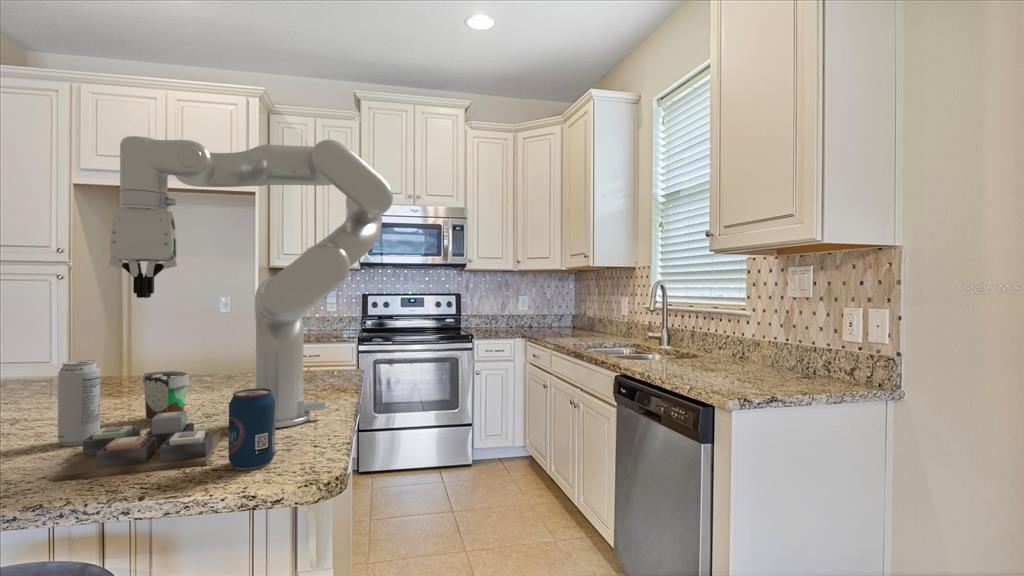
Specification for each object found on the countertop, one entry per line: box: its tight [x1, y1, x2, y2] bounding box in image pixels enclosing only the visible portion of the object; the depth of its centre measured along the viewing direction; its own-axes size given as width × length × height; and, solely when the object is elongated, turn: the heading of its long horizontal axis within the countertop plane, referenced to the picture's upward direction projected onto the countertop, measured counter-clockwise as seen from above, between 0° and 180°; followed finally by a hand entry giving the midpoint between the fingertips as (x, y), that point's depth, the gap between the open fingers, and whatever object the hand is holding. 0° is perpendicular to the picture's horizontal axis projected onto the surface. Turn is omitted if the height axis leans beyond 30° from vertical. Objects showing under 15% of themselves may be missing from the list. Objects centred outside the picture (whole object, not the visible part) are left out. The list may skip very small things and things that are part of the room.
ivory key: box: [169, 429, 206, 445], centre depth 88 cm, size 4×4×3 cm
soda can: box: [228, 388, 276, 471], centre depth 85 cm, size 7×7×12 cm
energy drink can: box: [57, 359, 101, 447], centre depth 96 cm, size 6×6×15 cm
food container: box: [142, 370, 191, 422], centre depth 112 cm, size 12×6×10 cm, turn 58°
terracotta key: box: [106, 435, 148, 451], centre depth 85 cm, size 4×4×3 cm
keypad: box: [52, 422, 223, 482], centre depth 89 cm, size 20×18×3 cm
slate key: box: [151, 410, 188, 434], centre depth 94 cm, size 4×4×3 cm
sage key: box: [92, 425, 133, 439], centre depth 90 cm, size 4×4×3 cm
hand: (143, 297), depth 99 cm, fingers closed
